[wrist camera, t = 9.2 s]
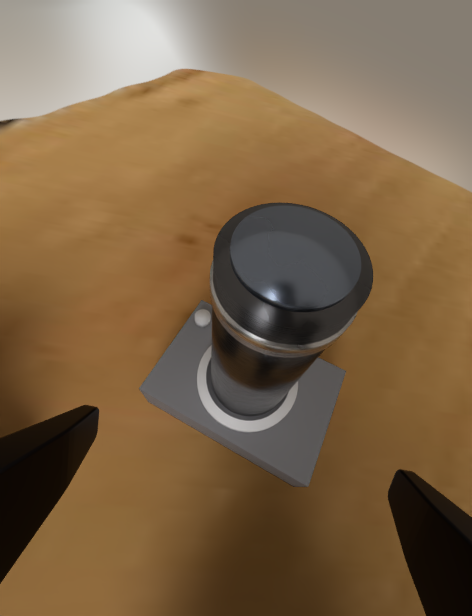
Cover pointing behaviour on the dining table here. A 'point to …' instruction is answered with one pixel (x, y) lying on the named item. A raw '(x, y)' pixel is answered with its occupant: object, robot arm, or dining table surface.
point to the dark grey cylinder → (280, 300)
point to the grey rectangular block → (242, 429)
